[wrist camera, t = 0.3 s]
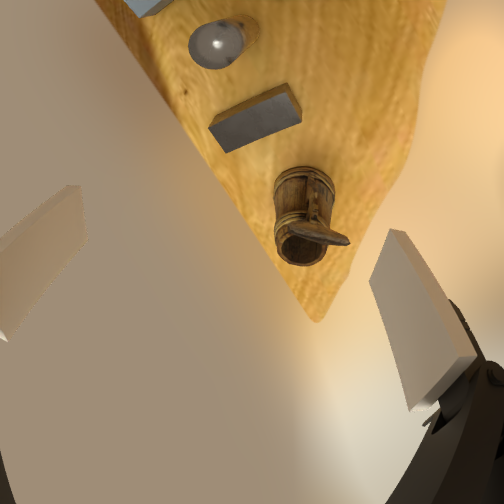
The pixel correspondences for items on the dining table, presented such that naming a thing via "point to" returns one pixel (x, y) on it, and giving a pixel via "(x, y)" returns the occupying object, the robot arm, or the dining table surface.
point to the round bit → (222, 41)
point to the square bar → (256, 118)
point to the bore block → (147, 6)
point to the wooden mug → (304, 216)
